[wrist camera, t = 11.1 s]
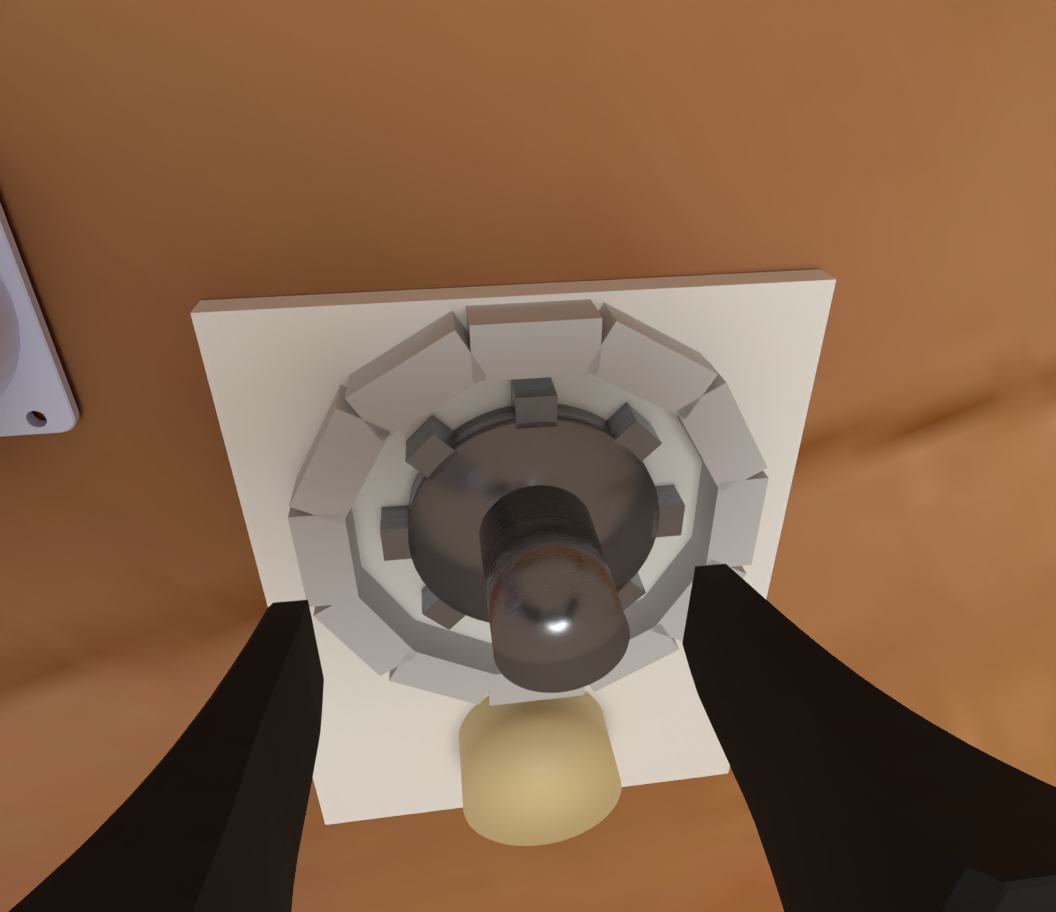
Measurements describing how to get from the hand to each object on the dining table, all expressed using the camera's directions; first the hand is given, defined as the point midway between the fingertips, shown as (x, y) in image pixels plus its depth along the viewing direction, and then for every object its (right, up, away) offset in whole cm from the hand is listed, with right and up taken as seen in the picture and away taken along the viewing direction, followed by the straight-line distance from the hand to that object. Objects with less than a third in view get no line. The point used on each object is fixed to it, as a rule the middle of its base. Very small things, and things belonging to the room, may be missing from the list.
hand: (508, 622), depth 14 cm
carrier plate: (0, -2, +13) cm, 13 cm away
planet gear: (+1, +1, +10) cm, 10 cm away
